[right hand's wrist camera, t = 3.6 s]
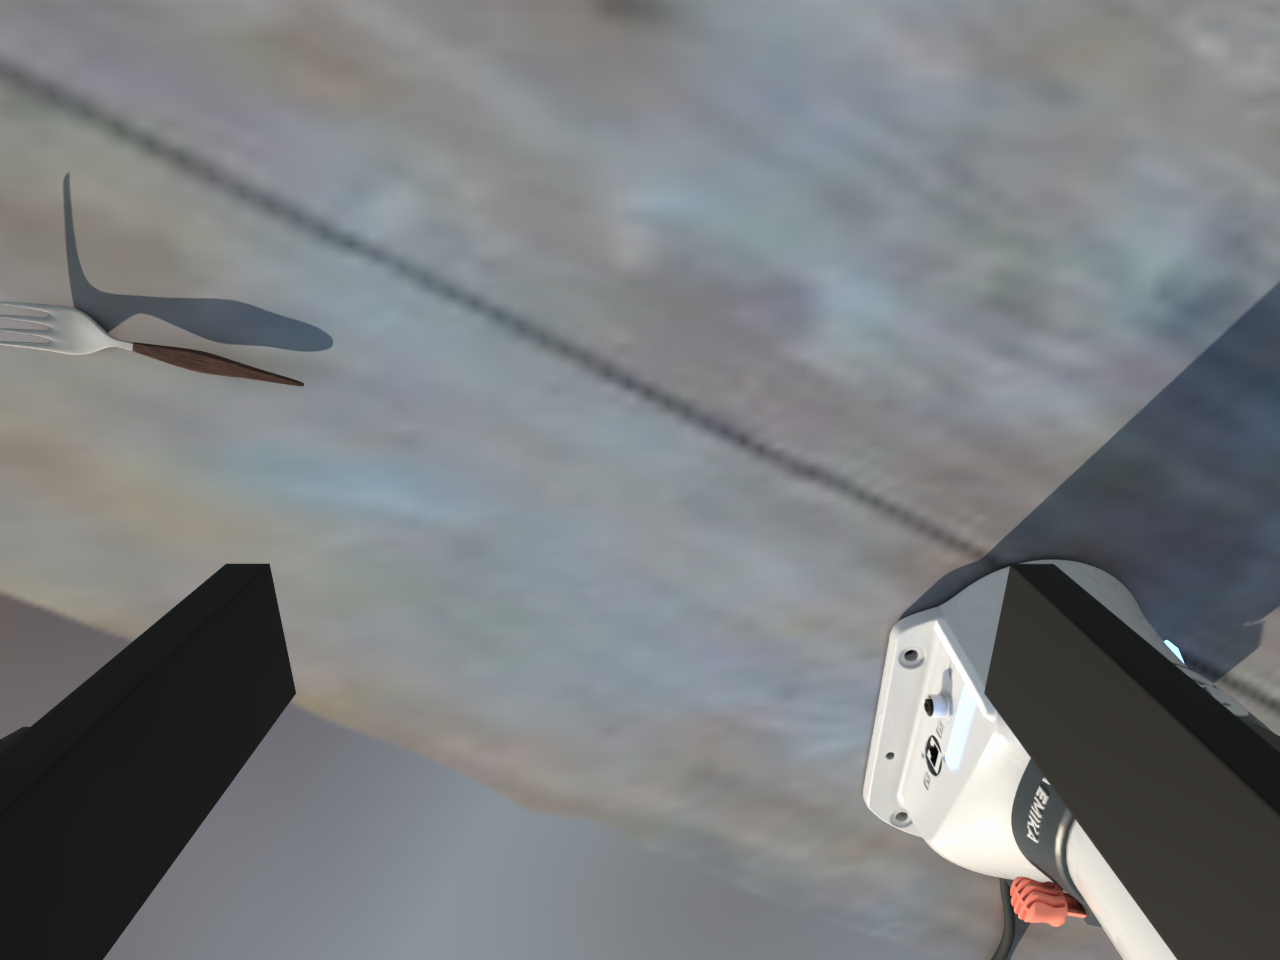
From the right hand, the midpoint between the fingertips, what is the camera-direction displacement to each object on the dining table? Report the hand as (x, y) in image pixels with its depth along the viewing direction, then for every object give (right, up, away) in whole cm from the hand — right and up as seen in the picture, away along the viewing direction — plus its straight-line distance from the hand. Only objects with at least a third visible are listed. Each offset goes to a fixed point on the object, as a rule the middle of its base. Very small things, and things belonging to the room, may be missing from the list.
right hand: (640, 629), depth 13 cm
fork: (-26, +10, +26) cm, 38 cm away
